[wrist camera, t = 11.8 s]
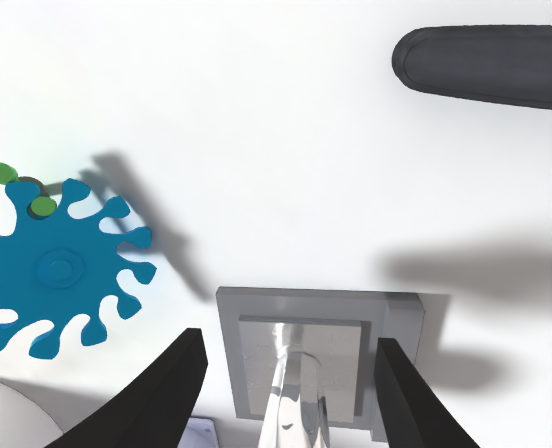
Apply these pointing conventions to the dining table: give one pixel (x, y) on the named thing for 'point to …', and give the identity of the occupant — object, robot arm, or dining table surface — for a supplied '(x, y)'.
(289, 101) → the dining table surface
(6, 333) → the gear
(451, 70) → the can opener
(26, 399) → the white tall piece
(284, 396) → the milkshake
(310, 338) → the scale pan
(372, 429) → the scale base
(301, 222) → the dining table surface
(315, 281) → the dining table surface
